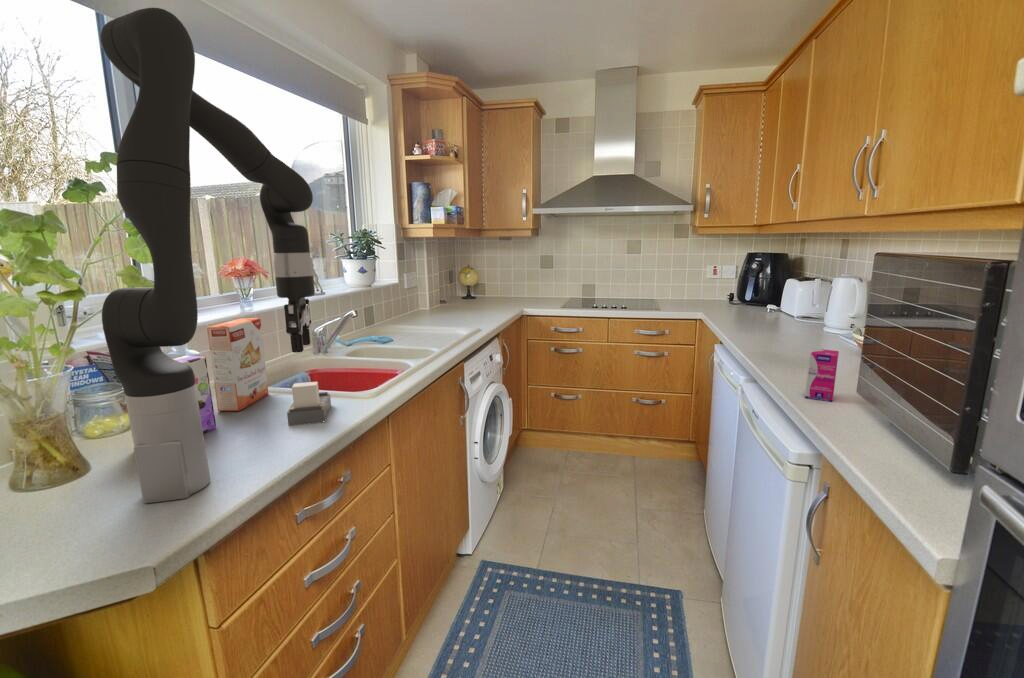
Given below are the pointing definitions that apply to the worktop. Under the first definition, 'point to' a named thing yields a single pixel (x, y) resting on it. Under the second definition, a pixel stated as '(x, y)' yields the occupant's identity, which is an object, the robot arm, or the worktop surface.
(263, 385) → the cracker box
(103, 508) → the worktop surface
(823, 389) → the supplement box
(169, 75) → the robot arm
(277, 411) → the worktop surface
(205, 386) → the candy box
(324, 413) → the fader console
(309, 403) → the fader tab
